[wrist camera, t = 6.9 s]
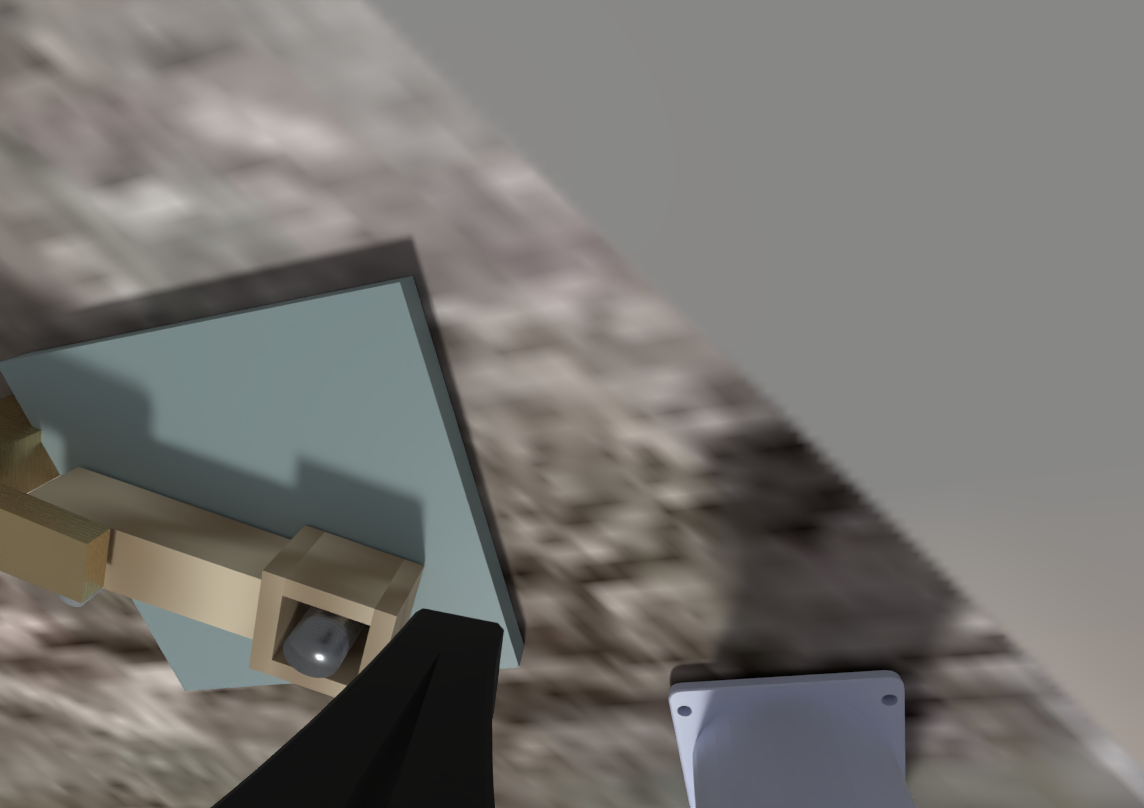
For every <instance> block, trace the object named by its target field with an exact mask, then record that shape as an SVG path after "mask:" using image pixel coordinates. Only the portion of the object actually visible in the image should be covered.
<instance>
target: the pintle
mask: <svg viewBox="0 0 1144 808" xmlns="http://www.w3.org/2000/svg"><path fill="white" fill-rule="evenodd" d="M364 625H365V624H364V623H361V622H358V621H355V620H352V619H349V618H346V617H343V616H341V615H338V614H335V613H332V612H329V611H326V610H323V609H320V608H317V607H314V606H311V607H310V608H309V610H308V611H307V612H306V614H305V615H304V616H303V618H302V619H301V620H300V622H299V623H298V624H297V626H296V627H295V628H294V630H293V631H292V632H291V634H290V635H289V636H288V638H287V639H286V640H285V642H284V645H283V653H284V656H285V658H286V660H287V662H288V663H289V664H290V665H291V666H292V667H293V668H294V669H295V670H297V671H298V672H300V673H302V674H304V675H306V676H309V677H314V678H325V677H329V676H331V675H333V674H334V673H335V672H336V671H337V670H338V668H339V667H340V665H341V663H342V662H343V660H344V658H345V657H346V655H347V653H348V652H349V650H350V648H351V647H352V645H353V643H354V642H355V640H356V638H357V637H358V635H359V633H360V632H361V630H362V629H363V627H364Z"/></svg>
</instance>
